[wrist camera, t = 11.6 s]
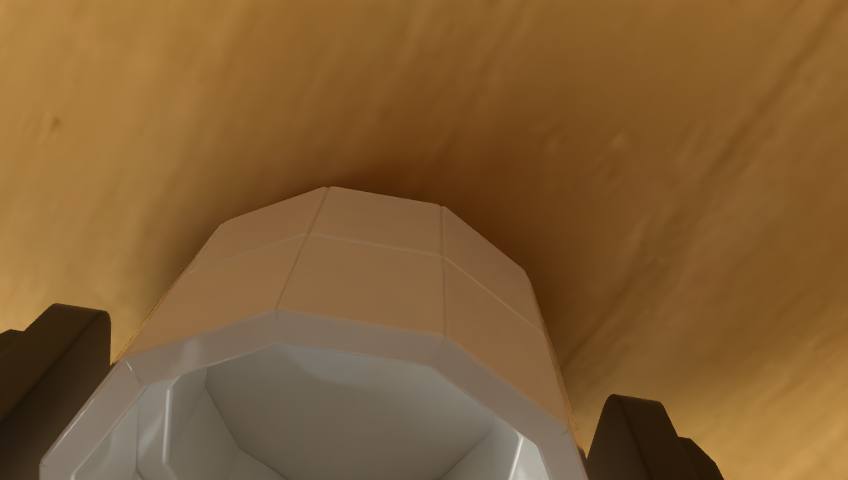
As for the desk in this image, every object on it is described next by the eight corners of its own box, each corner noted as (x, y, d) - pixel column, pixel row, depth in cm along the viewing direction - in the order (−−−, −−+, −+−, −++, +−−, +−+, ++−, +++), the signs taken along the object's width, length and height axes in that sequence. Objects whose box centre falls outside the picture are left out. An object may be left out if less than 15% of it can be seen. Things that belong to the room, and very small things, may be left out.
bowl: (160, 481, 14) (41, 717, 10) (179, 147, 11) (32, 269, 7) (502, 532, 14) (530, 782, 10) (589, 218, 12) (675, 373, 8)
